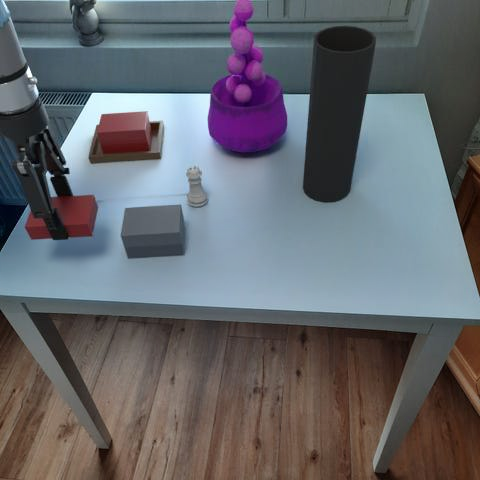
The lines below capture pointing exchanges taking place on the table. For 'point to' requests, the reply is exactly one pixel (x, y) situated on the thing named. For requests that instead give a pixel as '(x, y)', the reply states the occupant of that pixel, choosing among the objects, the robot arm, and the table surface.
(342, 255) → the table surface
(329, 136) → the vase
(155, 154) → the book tray
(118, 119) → the burgundy book
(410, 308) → the table surface
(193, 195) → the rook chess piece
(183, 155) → the table surface
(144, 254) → the gray box
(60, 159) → the robot arm
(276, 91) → the decorative plant
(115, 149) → the burgundy book
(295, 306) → the table surface
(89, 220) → the burgundy book
